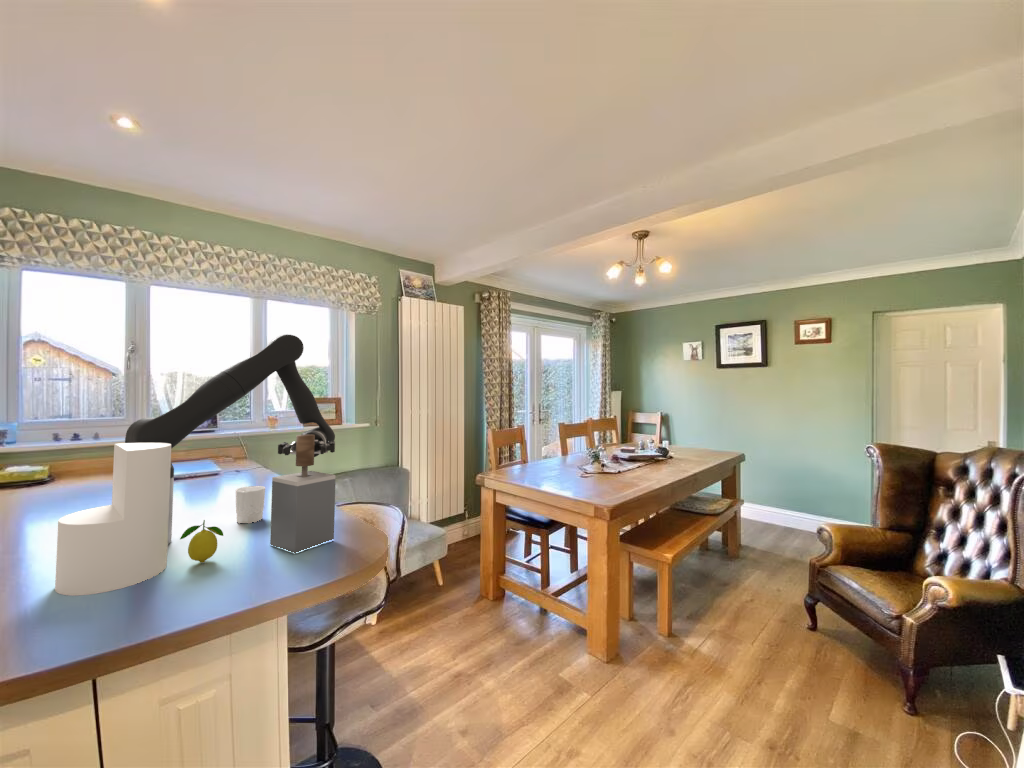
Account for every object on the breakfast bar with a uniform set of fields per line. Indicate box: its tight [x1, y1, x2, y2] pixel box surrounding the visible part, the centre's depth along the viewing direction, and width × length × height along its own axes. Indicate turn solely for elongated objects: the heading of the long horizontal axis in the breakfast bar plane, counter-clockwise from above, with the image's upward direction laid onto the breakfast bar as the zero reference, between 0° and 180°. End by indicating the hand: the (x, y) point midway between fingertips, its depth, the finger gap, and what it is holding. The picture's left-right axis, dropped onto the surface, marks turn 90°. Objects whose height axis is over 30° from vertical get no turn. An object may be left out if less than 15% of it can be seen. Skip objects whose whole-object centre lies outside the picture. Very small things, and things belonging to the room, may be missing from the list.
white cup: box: [235, 485, 266, 524], centre depth 128 cm, size 8×8×10 cm
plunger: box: [295, 434, 315, 478], centre depth 109 cm, size 8×8×27 cm
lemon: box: [179, 519, 224, 564], centre depth 96 cm, size 7×6×10 cm
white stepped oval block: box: [54, 442, 172, 597], centre depth 89 cm, size 17×17×28 cm
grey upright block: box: [269, 470, 337, 553], centre depth 109 cm, size 11×11×18 cm
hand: (304, 450), depth 108 cm, fingers open, 8 cm apart
